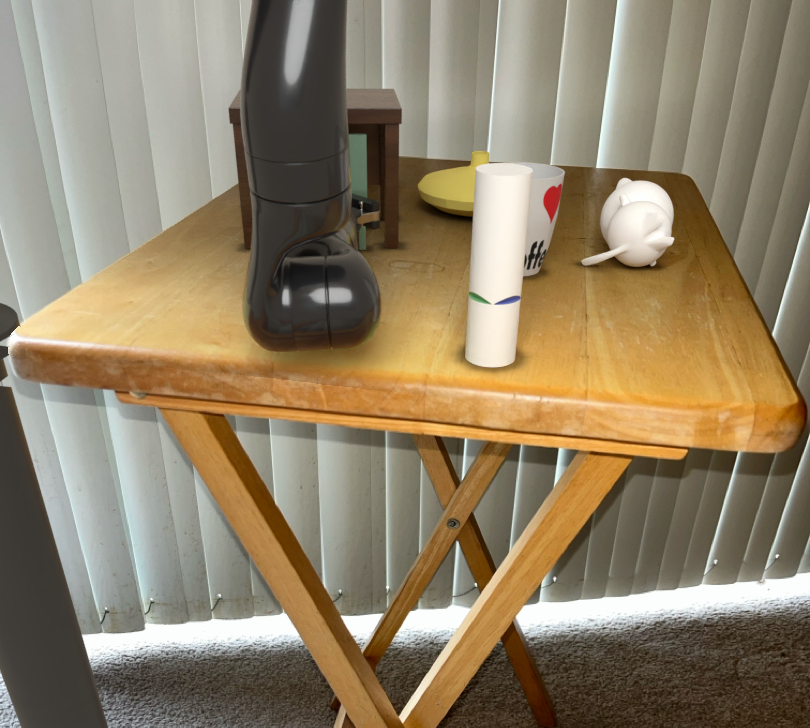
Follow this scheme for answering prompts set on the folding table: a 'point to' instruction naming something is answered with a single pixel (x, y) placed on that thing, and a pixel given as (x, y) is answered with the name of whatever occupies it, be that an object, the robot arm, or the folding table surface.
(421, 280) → the folding table surface
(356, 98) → the desk
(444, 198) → the vase
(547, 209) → the cup
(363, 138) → the chair
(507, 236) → the tube
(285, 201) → the robot arm
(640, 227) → the cat figurine
